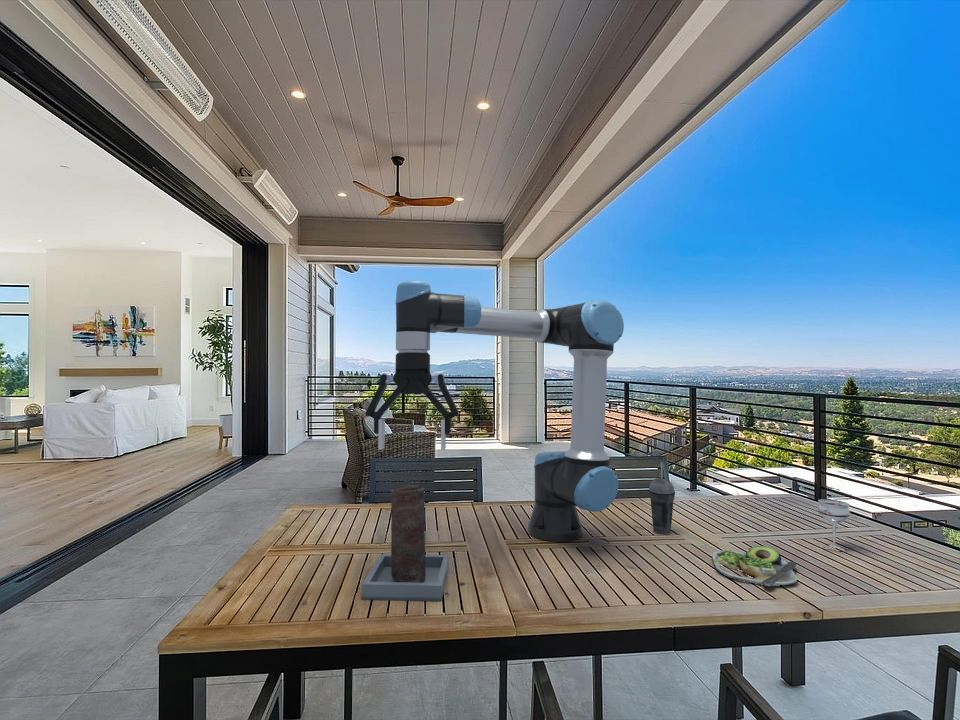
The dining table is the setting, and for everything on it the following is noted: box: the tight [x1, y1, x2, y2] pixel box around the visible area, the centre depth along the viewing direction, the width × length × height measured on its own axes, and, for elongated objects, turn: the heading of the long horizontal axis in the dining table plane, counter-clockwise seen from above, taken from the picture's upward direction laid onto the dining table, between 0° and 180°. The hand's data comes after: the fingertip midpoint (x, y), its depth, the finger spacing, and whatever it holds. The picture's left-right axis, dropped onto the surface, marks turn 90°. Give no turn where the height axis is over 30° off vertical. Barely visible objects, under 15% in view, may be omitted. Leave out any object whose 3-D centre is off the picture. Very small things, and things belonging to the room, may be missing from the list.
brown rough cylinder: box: [390, 484, 426, 583], centre depth 103 cm, size 8×7×20 cm
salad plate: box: [711, 545, 798, 587], centre depth 109 cm, size 19×18×5 cm
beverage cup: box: [648, 461, 676, 536], centre depth 137 cm, size 7×7×20 cm
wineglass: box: [817, 498, 851, 548], centre depth 125 cm, size 7×7×12 cm
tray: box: [361, 553, 450, 602], centre depth 103 cm, size 16×16×3 cm
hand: (412, 449), depth 104 cm, fingers open, 13 cm apart
